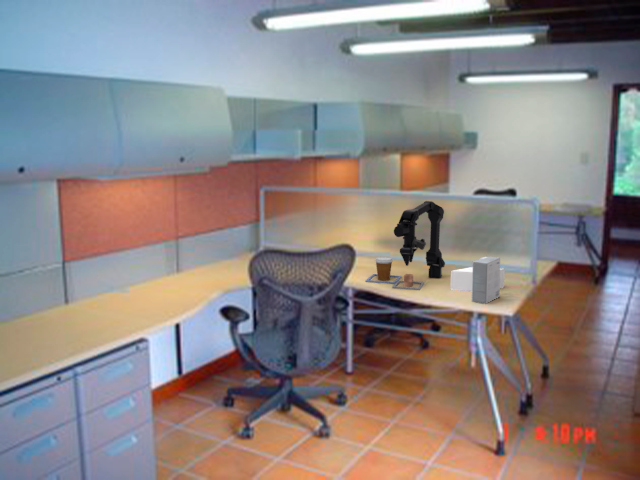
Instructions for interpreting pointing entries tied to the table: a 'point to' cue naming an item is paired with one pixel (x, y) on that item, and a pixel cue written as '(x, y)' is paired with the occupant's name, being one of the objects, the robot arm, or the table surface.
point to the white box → (467, 279)
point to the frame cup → (382, 281)
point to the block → (408, 280)
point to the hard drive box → (486, 279)
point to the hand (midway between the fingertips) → (409, 263)
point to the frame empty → (408, 287)
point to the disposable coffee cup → (383, 268)
